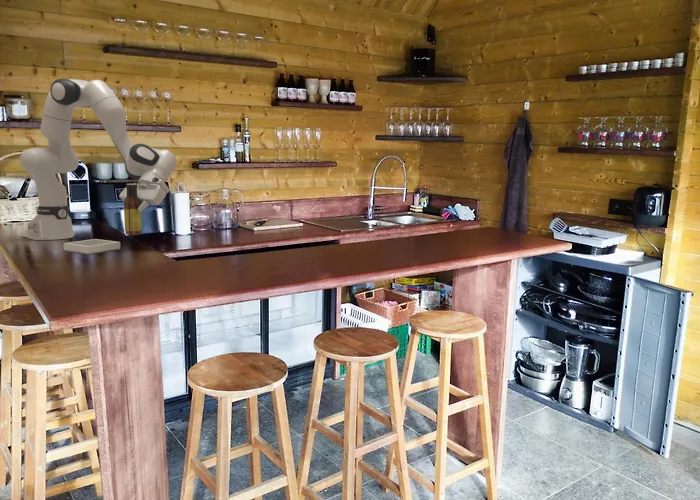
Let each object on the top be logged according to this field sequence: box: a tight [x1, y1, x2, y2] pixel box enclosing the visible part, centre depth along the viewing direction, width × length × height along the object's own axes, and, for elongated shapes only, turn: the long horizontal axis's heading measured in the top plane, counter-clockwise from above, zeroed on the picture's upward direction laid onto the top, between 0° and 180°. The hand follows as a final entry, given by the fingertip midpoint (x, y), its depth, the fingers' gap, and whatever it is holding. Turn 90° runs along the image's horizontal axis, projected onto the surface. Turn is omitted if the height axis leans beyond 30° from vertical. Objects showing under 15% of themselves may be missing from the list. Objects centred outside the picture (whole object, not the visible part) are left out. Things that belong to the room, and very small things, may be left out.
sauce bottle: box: [123, 183, 143, 236], centre depth 226 cm, size 6×6×20 cm
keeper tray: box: [62, 238, 121, 256], centre depth 225 cm, size 14×14×3 cm
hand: (131, 210), depth 225 cm, fingers closed on sauce bottle, 6 cm apart
